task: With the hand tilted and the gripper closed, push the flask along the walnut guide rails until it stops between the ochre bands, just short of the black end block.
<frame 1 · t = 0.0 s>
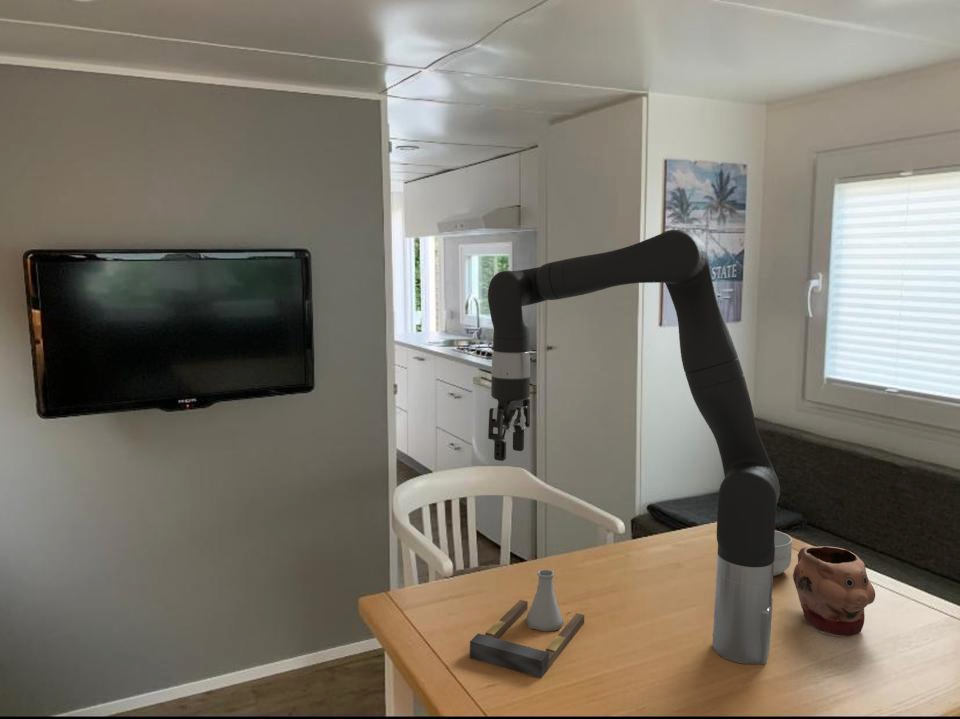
hand: (509, 455, 146), 29 cm above the table, tool pointing down, fingers open, 8 cm apart
decorative planter: (825, 622, 141), on the table
teacup: (765, 569, 165), on the table
flask: (544, 624, 139), on the table
guide track: (533, 635, 134), on the table
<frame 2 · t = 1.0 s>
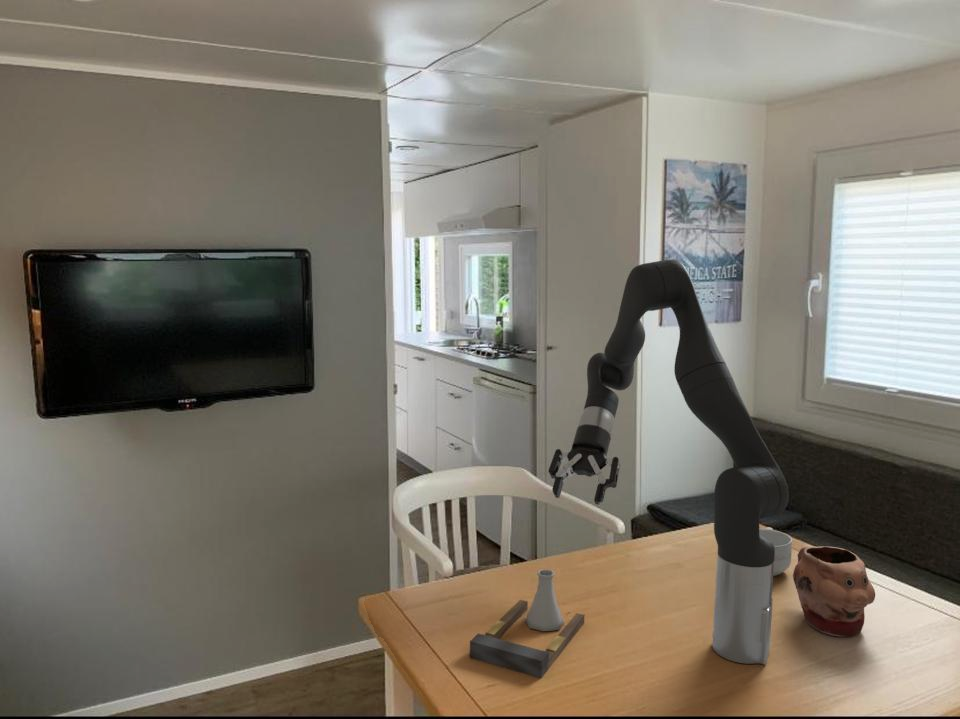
hand: (576, 499, 151), 19 cm above the table, tool tilted 45°, fingers open, 8 cm apart
nothing on the table moved.
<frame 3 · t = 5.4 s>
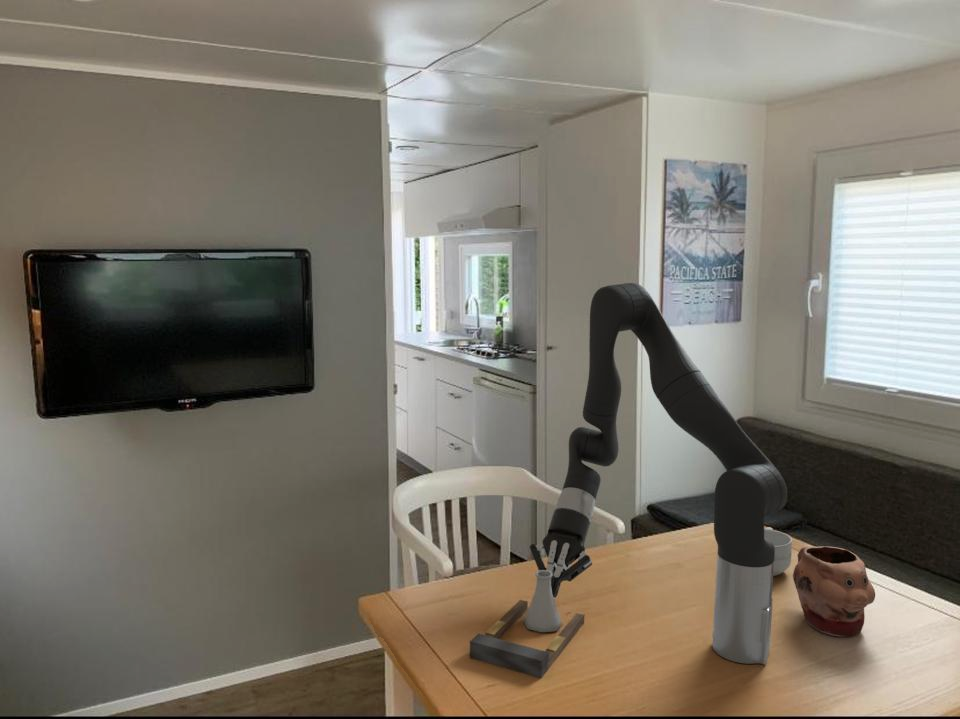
hand: (547, 597, 140), 4 cm above the table, tool tilted 45°, fingers closed
flask: (542, 625, 138), on the table, touching gripper
everything else where it was.
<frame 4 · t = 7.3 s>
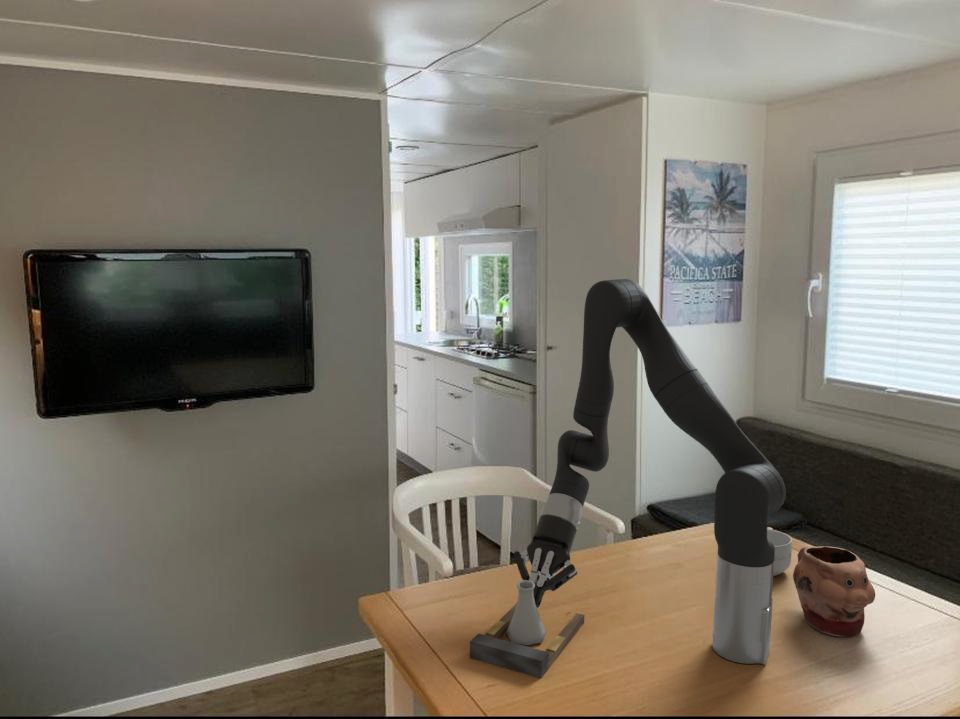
hand: (530, 607, 135), 5 cm above the table, tool tilted 45°, fingers closed
flask: (526, 635, 134), on the table, touching gripper
everything else where it was.
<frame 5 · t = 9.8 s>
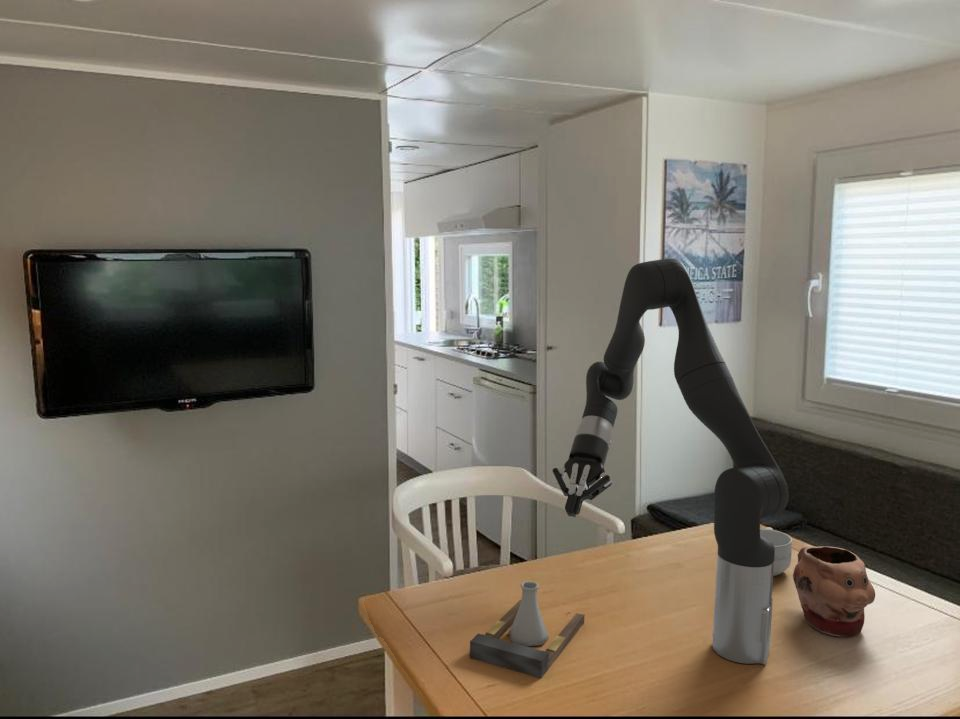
hand: (571, 514, 148), 17 cm above the table, tool tilted 45°, fingers closed
flask: (528, 638, 134), on the table
everything else where it was.
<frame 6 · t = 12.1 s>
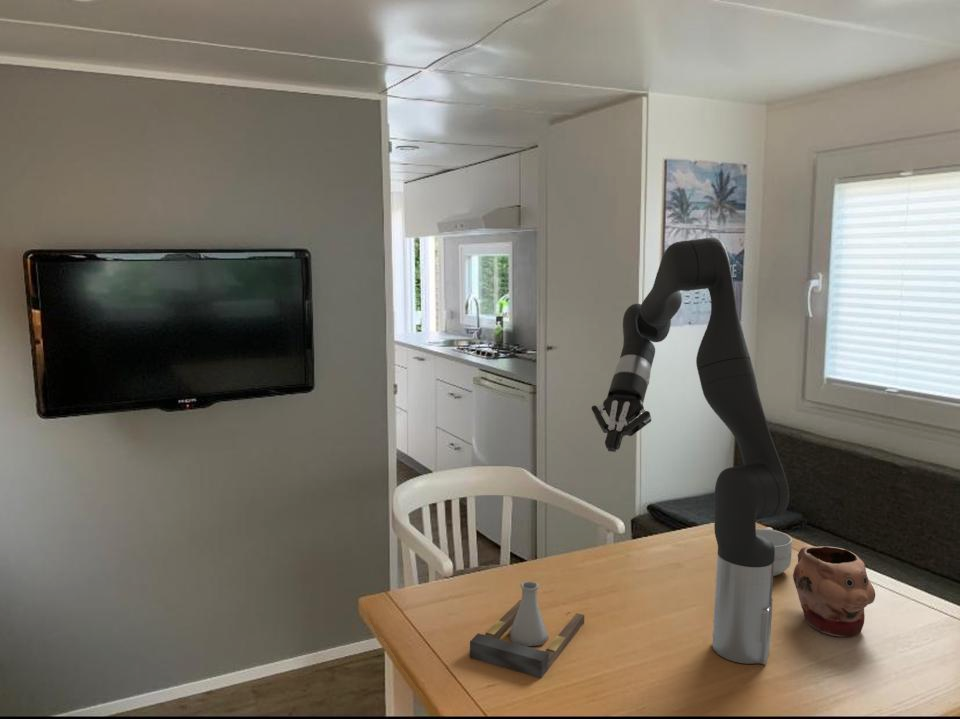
hand: (611, 449, 149), 30 cm above the table, tool tilted 45°, fingers closed
nothing on the table moved.
at the end: flask inside the target area (3.5 cm from its centre), on the table; flask tilted 0° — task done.
